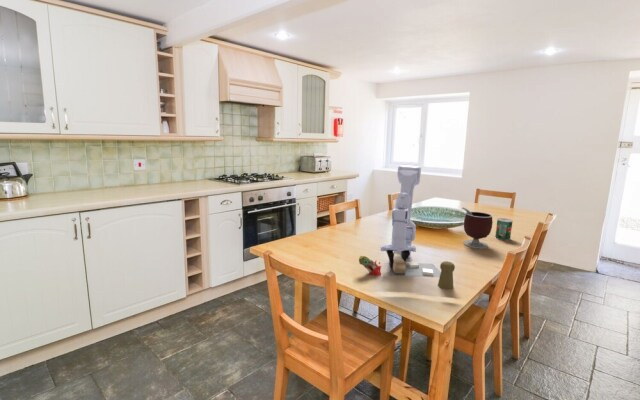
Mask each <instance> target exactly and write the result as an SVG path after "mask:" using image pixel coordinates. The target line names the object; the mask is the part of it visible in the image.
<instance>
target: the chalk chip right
mask: <svg viewBox="0 0 640 400" xmlns="http://www.w3.org/2000/svg"><path fill="white" fill-rule="evenodd" d="M422 272H423V275H431V276H430V277H434V276H433V270H432V269H425V268H423V269H422Z"/></svg>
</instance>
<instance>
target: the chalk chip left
mask: <svg viewBox="0 0 640 400" xmlns="http://www.w3.org/2000/svg"><path fill="white" fill-rule="evenodd" d="M405 263H406V265H408V266H409V267H410V268H417V267H419V264H418V262H417V261H406V262H405Z"/></svg>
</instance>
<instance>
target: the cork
mask: <svg viewBox="0 0 640 400" xmlns="http://www.w3.org/2000/svg"><path fill="white" fill-rule="evenodd" d="M439 267H440V268H439V269H440V272H441V274H440V277H439V278H438V282H437V286H438V287H439V288H440V289H444V290H453V289H454V272H455V269H456V266H455V264H454V262H451V261H448V260H447V261H442V262H441V263H440V266H439Z"/></svg>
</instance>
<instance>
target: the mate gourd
mask: <svg viewBox="0 0 640 400" xmlns="http://www.w3.org/2000/svg"><path fill="white" fill-rule="evenodd" d="M461 210H464V211H465V216H464V218H463V228H464V229H463V230H464V232H465V234H466V235H467V236H468V237H470V238H472V240H469V239H468V240H464V241H463V245H464V246H465V247H468V248H472V249H478V248H479V249H482V250H483V249H488V247H489V246H488V244H487V243H486V242H483V241H480V239H485V238H487V237H488V236H489V235H491V232H492V228H493V222H494V221H493V215H492V214H491V213H487V212H481V211H470V210H469V209H467V208H465V207H462V208H461ZM479 249H478V250H479Z"/></svg>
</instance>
